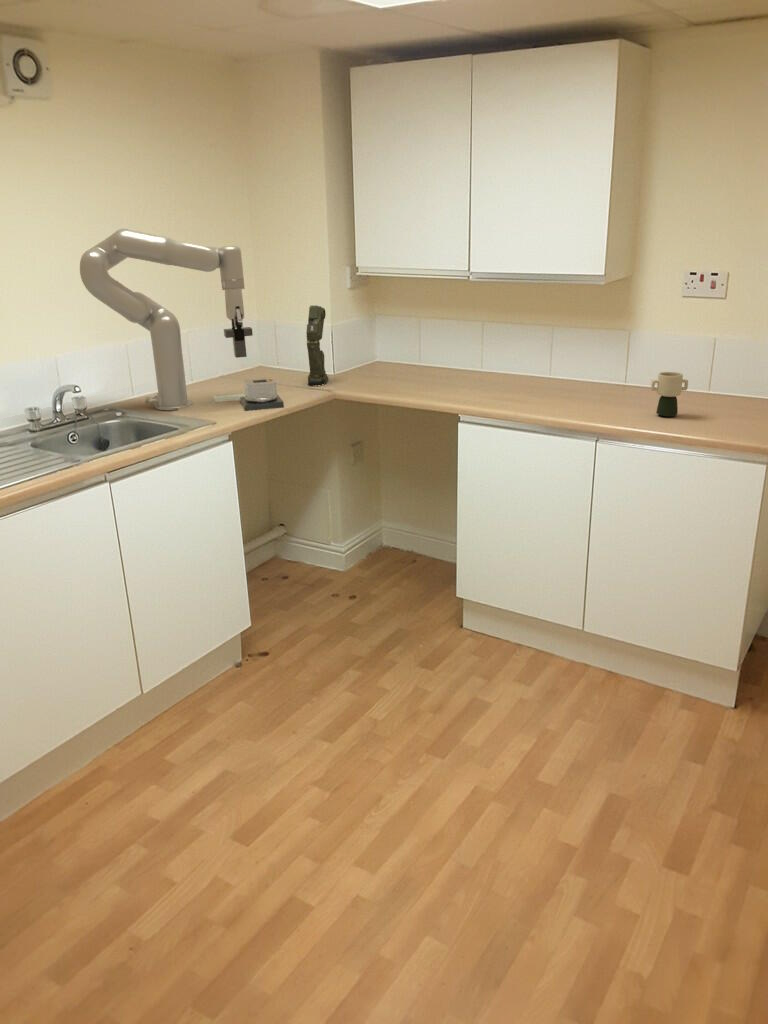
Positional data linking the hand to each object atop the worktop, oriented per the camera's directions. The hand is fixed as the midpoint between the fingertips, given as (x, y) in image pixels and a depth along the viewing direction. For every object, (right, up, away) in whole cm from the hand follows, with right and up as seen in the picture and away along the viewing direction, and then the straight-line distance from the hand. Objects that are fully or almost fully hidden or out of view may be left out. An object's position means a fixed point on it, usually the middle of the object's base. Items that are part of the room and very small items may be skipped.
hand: (238, 339), depth 284 cm
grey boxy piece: (+8, -20, 0) cm, 22 cm away
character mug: (+137, -30, -29) cm, 143 cm away
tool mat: (-5, -19, +10) cm, 22 cm away
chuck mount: (+8, -23, +1) cm, 24 cm away
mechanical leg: (+25, -10, +34) cm, 43 cm away
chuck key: (0, -6, +2) cm, 6 cm away
